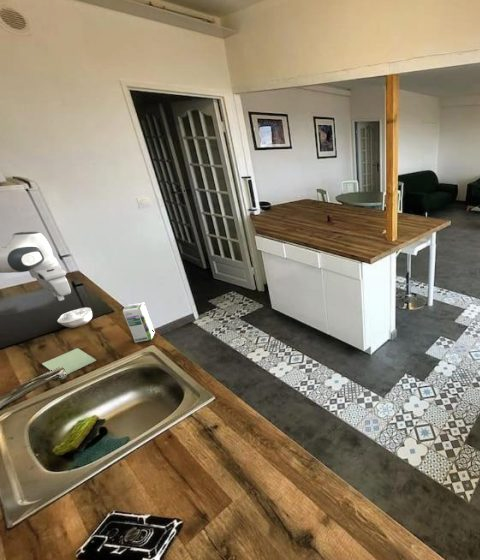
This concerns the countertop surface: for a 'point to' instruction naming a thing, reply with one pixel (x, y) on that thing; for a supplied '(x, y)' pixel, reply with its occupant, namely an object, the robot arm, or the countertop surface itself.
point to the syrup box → (139, 322)
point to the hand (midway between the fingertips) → (60, 299)
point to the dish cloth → (70, 361)
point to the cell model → (75, 317)
